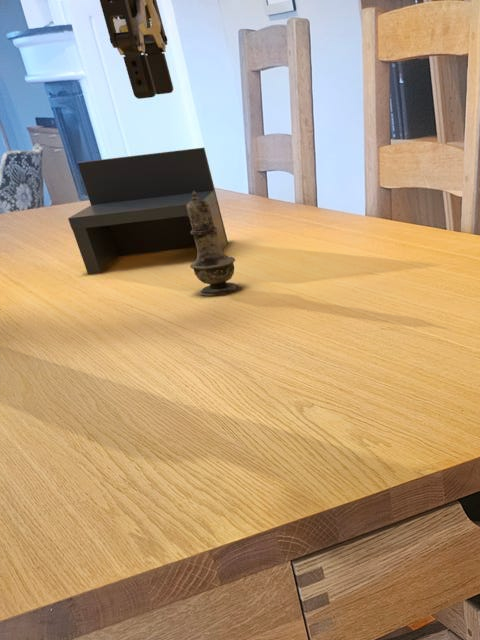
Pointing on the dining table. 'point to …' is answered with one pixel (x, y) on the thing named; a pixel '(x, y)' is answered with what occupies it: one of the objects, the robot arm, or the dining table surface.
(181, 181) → the bench
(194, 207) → the salt shaker
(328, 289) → the dining table surface
